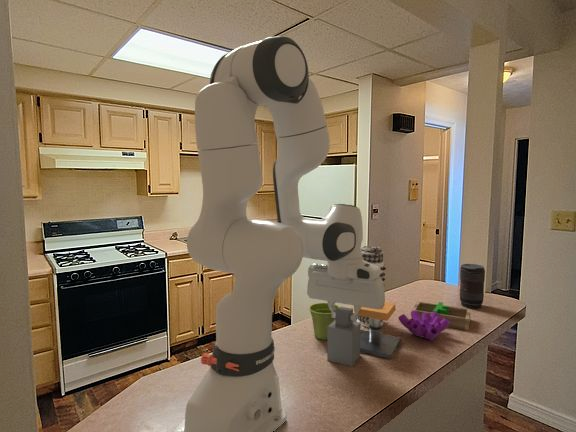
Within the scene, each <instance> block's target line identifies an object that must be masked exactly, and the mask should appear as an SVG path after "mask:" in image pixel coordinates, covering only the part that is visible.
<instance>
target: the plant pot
mask: <svg viewBox="0 0 576 432" xmlns="http://www.w3.org/2000/svg"><path fill="white" fill-rule="evenodd" d="M334 306H335V308H336V310H337V309H338V308H339V307H340V306H339V305H337V304H336V303H335V304H334ZM308 310H309V312H310V315H311V319H312V326H313V333H314V336H315V338H317V339H319V340H324V341H325V340H327V332H328V326H329V325H330V324H331V323H332V322H333V321H334V320H335V318H332V312H331V310H330V308H329V307H328V302H317V303H313V304H310V306H308Z"/></svg>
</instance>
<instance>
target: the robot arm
mask: <svg viewBox="0 0 576 432" xmlns="http://www.w3.org/2000/svg"><path fill="white" fill-rule="evenodd" d="M258 107H265V108H266V109H267V110H268V112H269V113H270V115H271V117H272V122H273V128H274V134H275V137H276V142H277V156H276V159H275V161H274V163H273V165H272V166H273V167H272V179H273V183H272V184H273V191H274V200H275V208H276V209H275V210H276V217H277V221H275V220H269V219H256V218H255V219H254V218H253V219H251V218H248V217H247V207H248V202H249V201H250V199H251V198H253V197H254V196H255V195H256V194H257V193H258V192H259V190H260V189H261V188H262V185H263V173H262V165H261V157H260V149H259V148H260V147H259V141H258V133H257V128H256V123H255V119H256V114H257V109H258ZM324 110H325V109H324V107H323V104H322V101H321V98H320V94H319V92H318V90H317V87H316V85H315V83H314V82H313V80H312V79H311V78H310V76H309V66H308V62H307V58H306V55H305V54H304V52H303V50H302V48H301V47H300V46H299V44H298V43H297V42H296V41H295V40H294V39H292V38H291V37H289V36H284V35H283V36H282V35H281V36H279V35H277V36H269V37H266V38H264V39H262V40H259V41H255V42H252V43H246V44H243V45H241V46H239V47H237V48H235V49H234V50H232V51H231V52H228V53H225V54H224V55H222V56H221V57H220V58H219V59H218V60H216V62H215V64H214V65H213V67H212V70H211V72H210V78H209V84H208V85H206V86H204V87H203V88H202V89H200V90H199V91H198V92H197V94H196V96H195V101H194V130H195V131H194V132H195V139H196V141H195V142H196V147H197V155H198V160H199V167H200V176H201V182H202V204H201V210H200V213H199V217H198V220H197V221H196V222H195V223H194V224H193V225H192V227H191V228H190V229H189V232H188V235H187V238H186V247H187V249H186V250H187V253H188V255H189V257H190V258H191V260H192V261H194V262H195V263H197V264H199V265H201V266H203V267H206V268H208V269H210V270H212V271H218V272H224V273H228V274H229V273H230V274H233V275H234V277H233V278H234V283H233V287H232V291H231V292H228V293H227V294H225V295H224V296H223V297H222V298H221V299H220V300H219V301H218V302H217V304H216V307H215V336H216V337H215V338H216V339H215V343H214V345H213V349H212V354H209V353H207V352H204V353H202V355H201V357H200V363H201V364H202V365H207V366H208V370H207V371H206V372H205V374H204V375H203V378H202V379H200V382H199V383H198V385H197V386H196V388H195V390H194V391H193V393H192V394H191V396H190V397H189V399H188V400H187V403H186V406H185V407H186V408H185V412H184V413H185V414H184V418H183V420H182V421H181V422H180V423H179V424H178V425H177V426H176V427H175V428H174V429H173V430H172V432H181V431H182V432H273V431H274V432H276V431H277V430H278V429H279V428H280V427H281V426H280V425H282V424H283V423H284V422H285V421H286V419H287V414H286V412H285V411H284V410H283V408H282V399H281V388H280V387H281V386H280V379H279V376H278V373H277V371H276V368H275V365H274V360H275V350H276V349H275V341H274V339H273V337H272V331H273V329H272V327H273V326H272V325H273V324H272V323H273V308H274V301H275V298H276V296H277V293H278V291H279V289H280V288H281V286H282V284H283V283H284V282H285V281H286V280H288V279H289V278H290V277H292V276H293V275H294V274H295V273H296V272H297V271H298V269H299V267H300V265H301V263H302V261H303V258H306V259H311V260H319V261H326V262H327V263H326V264H319V263H313V264H311V265H309V267H308V269H307V277H308V281H307V286H306V289H307V290H306V295H307V296H308V297H309V298H310V299H313V300H318V301H319V300H320V301H326V302H327V303H328V307H329V308H330V310H331V312H332V318H335V313H336V308H335V306H334V304H335V305H336V303H337V304H344V305H347V306H348V305H349V306H353V310H354V309H355V310H356V311H355V312H354V311H353V313H351V314H350V321H351V322H357V314H358V313H359V311H360V309H361V308H362V307H366V308H372V309H380V308H381V307H382V306H383V305H384V303H385V302H386V292H385V286H384V285H385V284H384V281H382V279H381V278H380V277H379V275H380V274H381V268H380V267H378V266H376V265H374V264H371V263H369V262H367V261H365V260H363V259H362V251H361V249H362V243H363V233H364V232H363V231H364V230H363V229H364V227H363V218H362V212H361V210H360V208H359V207H358V206H356V205H352V204H345V203H334V204H332V205H330V208H329V212H328V213H327V215H325V216H324V217H323V218H321V219H317V218H315V219H314V218H306V217H304V216H303V215H302V213H301V210H300V200H299V182H300V180H301V178H302V177H303V176H305V175H307V174H308V173H309V174H310V173H311V172H312V171H314V170H316V169H317V168H319V166H321V165H322V164H323V163H324V162H325V160H326V158H327V157H328V154H329V152H330V145H331V142H330V135H329V129H328V123H327V120H326V115H325V111H324ZM286 422H287V421H286ZM286 422H285V423H286ZM285 423H284V424H285ZM284 424H283V425H284ZM283 425H282V426H283ZM279 426H280V427H279ZM278 427H279V428H278ZM277 428H278V429H277ZM276 429H277V430H276Z"/></svg>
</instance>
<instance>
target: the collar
mask: <svg viewBox="0 0 576 432" xmlns="http://www.w3.org/2000/svg"><path fill="white" fill-rule="evenodd" d="M355 311H356V310H355V309H354V308H353V313H354V312H355ZM395 312H396V303H394V302H388V301H385V303H384V305H383V306H382V307H381V309H372V308H366V307H362V308H361V309H360V311H359V313H358V314H357V316H362V317H368V318H374V319H379V320H383V321H385V322H388V321H389V320H390V318H391V317H392V315H393V314H394V313H395Z"/></svg>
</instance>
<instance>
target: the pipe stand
mask: <svg viewBox="0 0 576 432" xmlns="http://www.w3.org/2000/svg"><path fill="white" fill-rule="evenodd" d="M380 309H381V308H380ZM368 328H369V330H365V329H360V354H361V353H362V354H366V355H371V356H376V357H378V358H383V359H388V360H392V358H393V356H394V355H395V353H396V351H397V349H398V348H399V346H400V344H401V342H402V337H399V336H395V335H390V334H385V333H381V329H382V326H381V320H379V319H374V318H370V324H369V327H368Z"/></svg>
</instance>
